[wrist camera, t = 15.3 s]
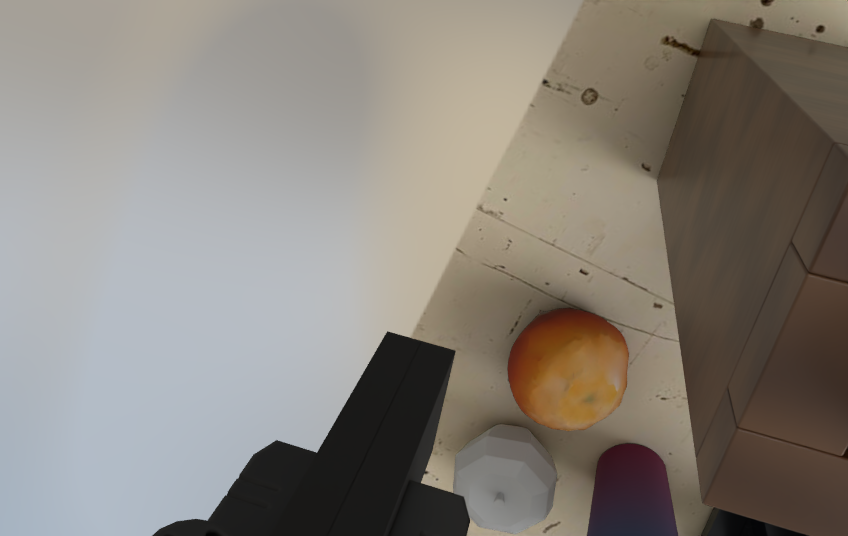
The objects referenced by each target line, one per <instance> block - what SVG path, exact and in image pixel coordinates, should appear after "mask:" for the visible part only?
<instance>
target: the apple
mask: <svg viewBox="0 0 848 536" xmlns="http://www.w3.org/2000/svg"><path fill="white" fill-rule="evenodd" d="M556 479H557V471H556V468H555V465H554V462H553V459H552V456H551V455H550V454H549V453H548V451H547V450H546V449H545V448H544V447H543V446H542V445H541V443H540V442H539V441H538V440H537V439H536V438H535V437H534V436H533V434H532V433H531V432H530V431H529V430H528V429H527V428H524V427H518V426H511V425H505V424H499V425H496V426H494V427H492V428H490V429H489V430H487V431H486V432H484V433H483V434H481V435H479V436H478V437H476V438H475V439H473V440H471V441H470V442H468V443H467V444H466V445H465V446H464V447H463V448H462V449H461V450H460V451H459V452H458V453H457V454H456V458H455V471H454V484H453V492H454V494H457V495H461V496H464V499H465V502H466V506H467V510H468V514H469V517H470V518H471V519H472V520H473V521H474V522H475V523H476V524H477V526H478V527H482V528H487V529H492V530H497V531H502V532H507V533H512V534H517V533H519V532H521V531H523V530H525V529H527V528H529V527H531V526H533V525H535V524H537V523H539V522H541V521H543V520H544V519H545V518H546V517H547V515H548V513H549V512H550V510H551V508H552V506H553V499H554V492H555V486H556Z"/></svg>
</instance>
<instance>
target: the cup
mask: <svg viewBox="0 0 848 536" xmlns="http://www.w3.org/2000/svg"><path fill="white" fill-rule="evenodd" d="M587 536H678V532H677V527H676V521H675V516H674V510H673V505H672V499H671V494H670V489H669V483H668V478H667V472H666V468H665V464H664V462H663V460H662V459H661V458H660V457H659V455H657V454H656V453H655V452H654V451H652V450H651V449H649V448H647V447H644V446H642V445H637V444H621V445H617V446H614V447H612V448H610V449H608V450H607V451H606V452H604V454H603V455H602V456H601V457H600V459H599V461H598V465H597V470H596V477H595V484H594V491H593V498H592V505H591V512H590V519H589V526H588V533H587Z"/></svg>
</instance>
